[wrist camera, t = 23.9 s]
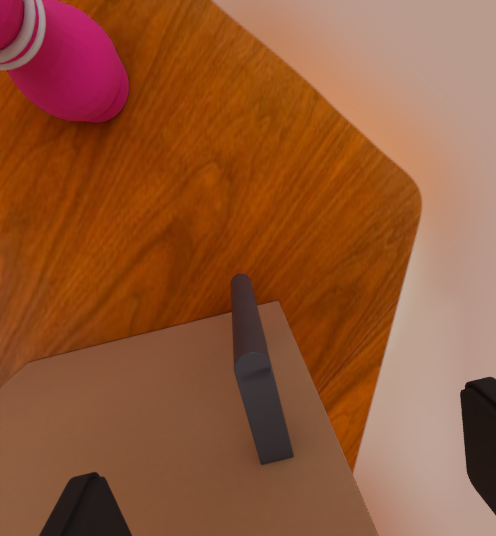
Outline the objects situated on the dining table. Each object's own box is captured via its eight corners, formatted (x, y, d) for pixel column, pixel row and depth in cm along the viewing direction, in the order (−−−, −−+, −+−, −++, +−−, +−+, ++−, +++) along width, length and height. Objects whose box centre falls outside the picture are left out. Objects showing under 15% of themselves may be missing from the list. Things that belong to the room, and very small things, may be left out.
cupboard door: (3, 311, 32) (-562, 645, 9) (265, 245, 32) (365, 415, 9) (31, 370, 34) (-382, 776, 11) (280, 309, 34) (394, 584, 11)
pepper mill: (70, 13, 27) (-341, -420, 7) (150, 70, 28) (-18, -172, 9) (32, 96, 28) (-401, -89, 9) (110, 146, 29) (-113, 83, 10)
